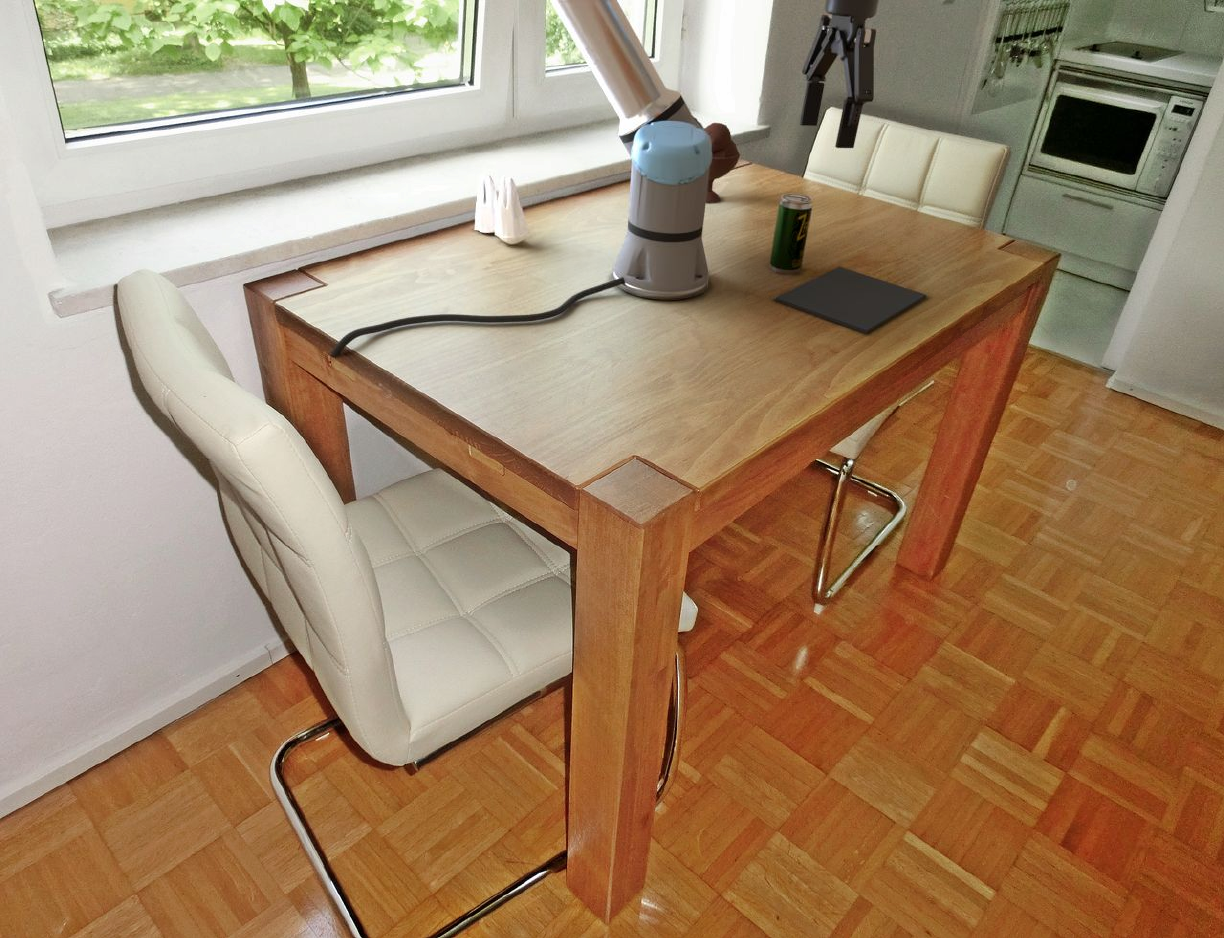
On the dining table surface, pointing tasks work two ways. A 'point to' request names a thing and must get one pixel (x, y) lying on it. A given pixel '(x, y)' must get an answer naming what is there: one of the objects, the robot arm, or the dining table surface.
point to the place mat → (851, 299)
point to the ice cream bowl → (720, 156)
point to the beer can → (790, 233)
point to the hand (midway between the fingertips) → (825, 136)
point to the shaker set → (500, 211)
